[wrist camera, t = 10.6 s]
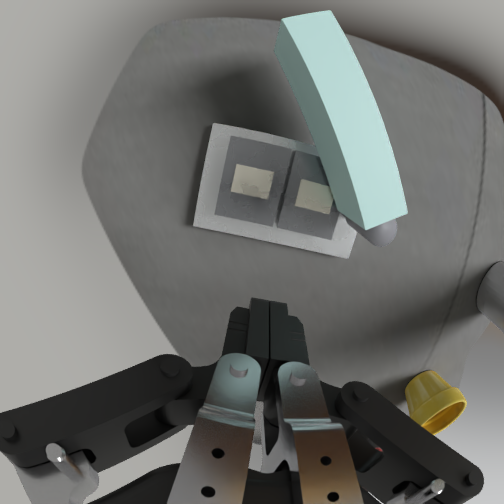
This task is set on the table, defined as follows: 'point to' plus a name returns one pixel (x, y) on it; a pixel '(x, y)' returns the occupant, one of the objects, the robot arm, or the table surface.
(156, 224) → the table surface
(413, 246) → the table surface
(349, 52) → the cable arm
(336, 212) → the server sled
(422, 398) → the plant pot
